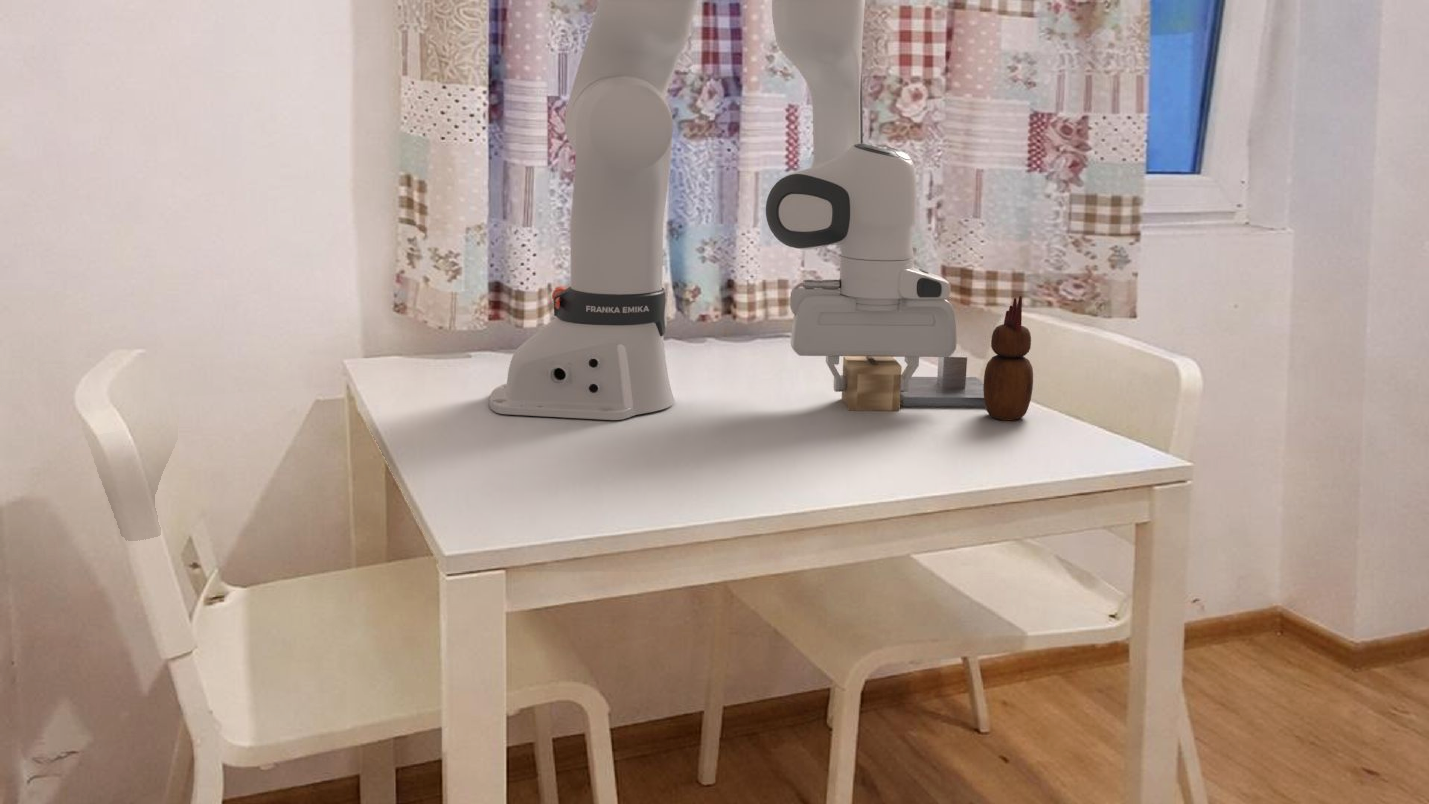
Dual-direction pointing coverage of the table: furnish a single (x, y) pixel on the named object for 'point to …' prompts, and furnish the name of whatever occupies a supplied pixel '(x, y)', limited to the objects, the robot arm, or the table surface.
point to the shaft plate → (945, 387)
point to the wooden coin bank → (872, 383)
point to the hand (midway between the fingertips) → (870, 391)
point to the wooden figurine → (1009, 368)
